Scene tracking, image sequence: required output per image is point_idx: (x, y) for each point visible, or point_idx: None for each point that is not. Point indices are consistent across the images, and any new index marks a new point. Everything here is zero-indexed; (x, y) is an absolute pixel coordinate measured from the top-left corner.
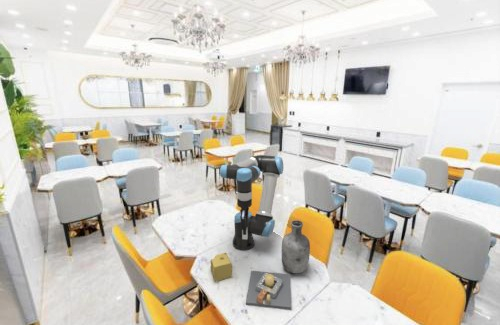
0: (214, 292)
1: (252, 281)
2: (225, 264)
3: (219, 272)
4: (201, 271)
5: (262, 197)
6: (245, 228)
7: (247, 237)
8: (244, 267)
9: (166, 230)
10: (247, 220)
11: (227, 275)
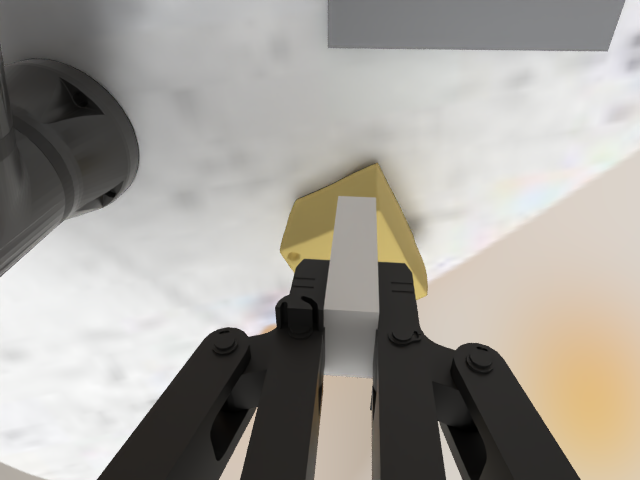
0: (484, 225)
1: (431, 26)
2: (396, 240)
3: (409, 244)
4: None
5: None
6: (518, 396)
7: (354, 204)
8: (287, 98)
9: None
10: (260, 429)
11: (388, 191)
